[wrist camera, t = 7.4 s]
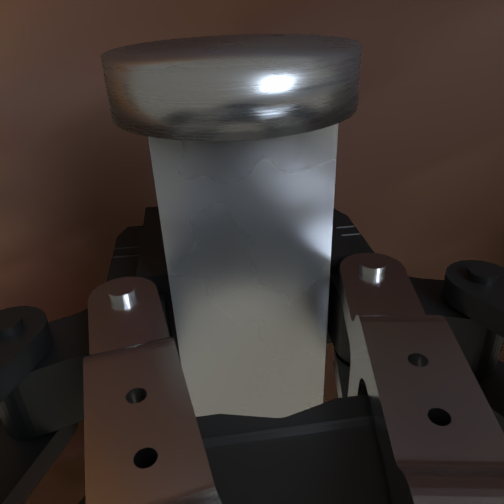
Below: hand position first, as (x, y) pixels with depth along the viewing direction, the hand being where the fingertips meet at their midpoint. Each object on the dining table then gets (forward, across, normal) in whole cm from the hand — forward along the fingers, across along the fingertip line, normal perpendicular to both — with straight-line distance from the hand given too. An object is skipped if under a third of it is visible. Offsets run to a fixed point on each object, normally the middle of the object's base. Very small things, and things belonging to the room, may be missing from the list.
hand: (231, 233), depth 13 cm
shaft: (0, 0, +10) cm, 10 cm away
